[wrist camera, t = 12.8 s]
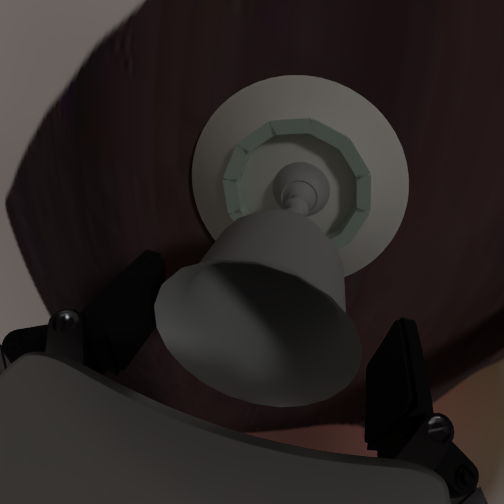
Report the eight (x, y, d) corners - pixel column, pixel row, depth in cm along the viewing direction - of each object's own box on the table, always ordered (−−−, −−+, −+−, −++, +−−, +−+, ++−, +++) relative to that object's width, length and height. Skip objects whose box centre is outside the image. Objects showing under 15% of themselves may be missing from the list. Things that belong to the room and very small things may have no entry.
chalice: (357, 191, 23) (404, 359, 8) (306, 241, 26) (270, 420, 11) (294, 133, 22) (220, 205, 7) (245, 190, 25) (130, 330, 10)
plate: (436, 225, 23) (444, 236, 21) (271, 305, 32) (268, 318, 30) (326, 36, 17) (326, 29, 16) (159, 161, 27) (146, 166, 25)
